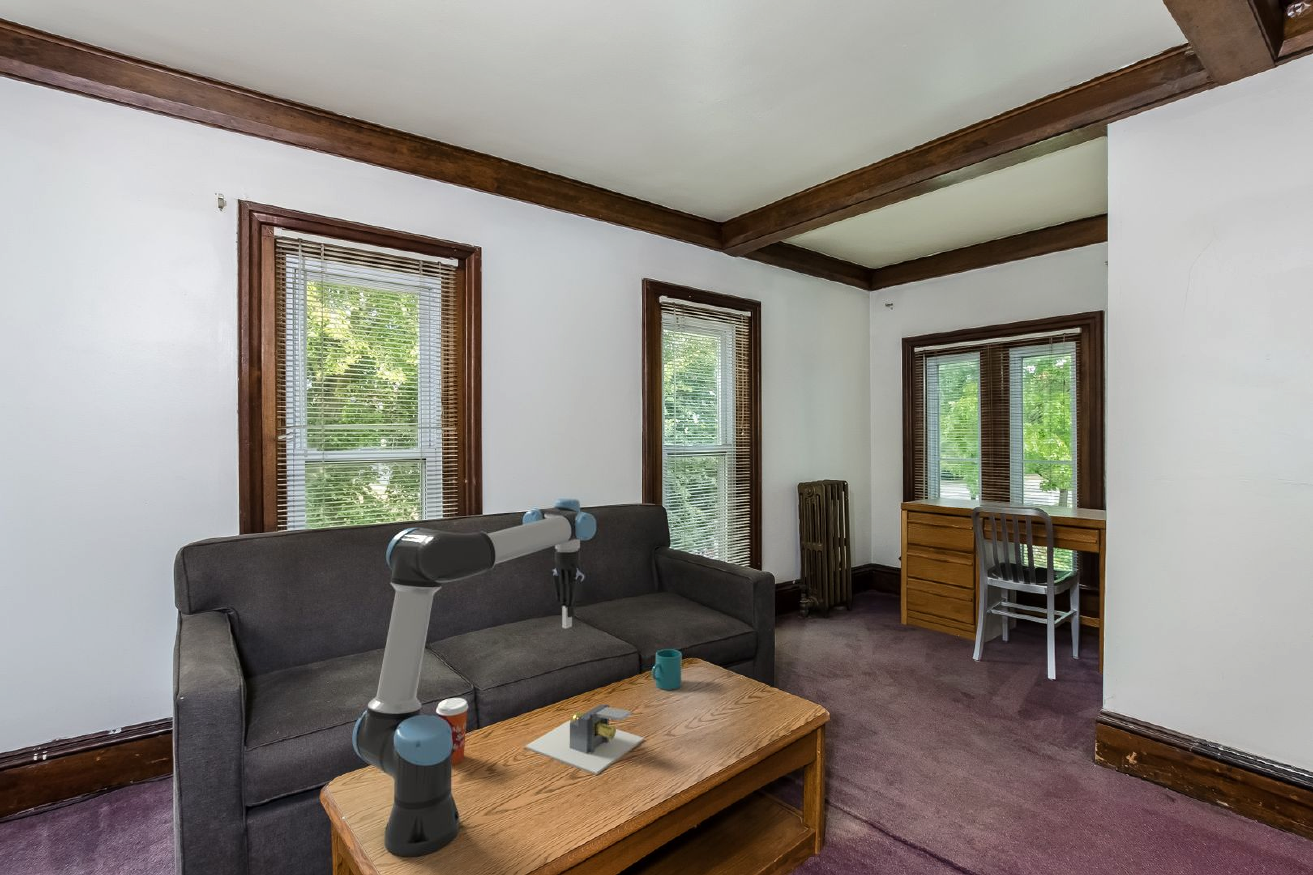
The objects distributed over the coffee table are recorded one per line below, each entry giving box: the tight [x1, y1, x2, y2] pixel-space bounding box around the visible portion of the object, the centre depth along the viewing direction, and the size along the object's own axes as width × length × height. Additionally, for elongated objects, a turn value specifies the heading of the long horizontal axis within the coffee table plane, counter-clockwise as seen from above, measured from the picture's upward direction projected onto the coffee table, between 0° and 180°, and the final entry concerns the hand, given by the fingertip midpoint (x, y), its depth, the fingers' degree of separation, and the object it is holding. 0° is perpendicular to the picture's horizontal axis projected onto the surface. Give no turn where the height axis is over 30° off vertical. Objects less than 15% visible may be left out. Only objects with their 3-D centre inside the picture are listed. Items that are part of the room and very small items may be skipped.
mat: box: [524, 719, 645, 776], centre depth 172 cm, size 22×25×1 cm
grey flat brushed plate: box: [596, 706, 632, 722], centre depth 167 cm, size 1×5×8 cm
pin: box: [570, 710, 617, 739], centre depth 171 cm, size 13×5×5 cm, turn 57°
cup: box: [651, 648, 683, 691], centre depth 213 cm, size 9×12×11 cm
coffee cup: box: [435, 697, 469, 766], centre depth 164 cm, size 8×8×15 cm
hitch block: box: [570, 703, 610, 754], centre depth 171 cm, size 7×10×10 cm
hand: (567, 626), depth 187 cm, fingers closed
